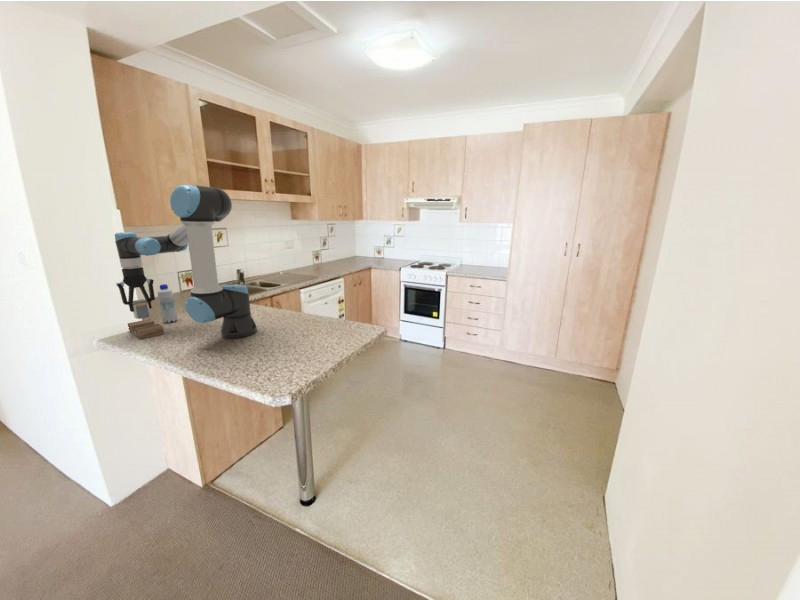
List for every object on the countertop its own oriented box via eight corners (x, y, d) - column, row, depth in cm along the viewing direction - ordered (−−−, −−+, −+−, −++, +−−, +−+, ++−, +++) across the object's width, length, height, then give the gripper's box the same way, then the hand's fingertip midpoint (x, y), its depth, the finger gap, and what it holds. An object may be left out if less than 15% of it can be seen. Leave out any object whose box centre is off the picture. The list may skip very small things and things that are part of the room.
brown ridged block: (164, 334, 152) (162, 326, 151) (140, 339, 145) (138, 331, 144) (151, 326, 163) (150, 318, 162) (129, 331, 156) (127, 323, 155)
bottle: (164, 320, 172) (156, 283, 167) (179, 319, 174) (172, 282, 169) (161, 324, 166) (153, 286, 161) (176, 322, 168) (169, 284, 163)
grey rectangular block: (149, 316, 153) (145, 300, 151) (138, 319, 150) (135, 302, 148) (146, 315, 155) (143, 299, 153) (136, 317, 152) (132, 300, 150)
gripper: (152, 264, 155) (161, 311, 161) (105, 268, 142) (117, 319, 148) (157, 265, 151) (166, 314, 156) (109, 270, 138) (121, 323, 143)
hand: (142, 316), depth 152 cm, fingers closed on grey rectangular block, 4 cm apart
